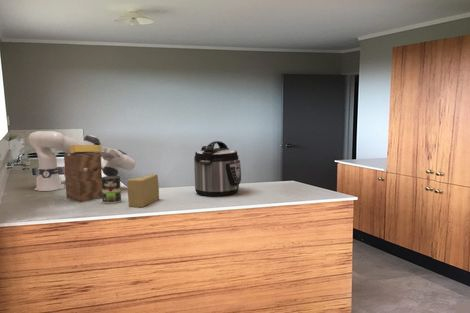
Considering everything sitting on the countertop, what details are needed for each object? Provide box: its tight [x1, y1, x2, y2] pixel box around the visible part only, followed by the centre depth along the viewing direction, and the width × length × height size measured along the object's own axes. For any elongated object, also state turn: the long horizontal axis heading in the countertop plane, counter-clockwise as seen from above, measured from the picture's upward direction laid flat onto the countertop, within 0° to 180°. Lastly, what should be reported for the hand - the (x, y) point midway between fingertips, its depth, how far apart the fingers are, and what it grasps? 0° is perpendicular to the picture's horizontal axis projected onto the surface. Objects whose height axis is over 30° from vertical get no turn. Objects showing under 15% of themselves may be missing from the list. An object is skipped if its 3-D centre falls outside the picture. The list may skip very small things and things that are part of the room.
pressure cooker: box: [193, 140, 242, 197], centre depth 268 cm, size 30×28×32 cm
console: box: [63, 152, 103, 203], centre depth 260 cm, size 14×19×27 cm
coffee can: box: [101, 175, 122, 204], centre depth 249 cm, size 10×10×14 cm
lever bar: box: [70, 144, 103, 153], centre depth 263 cm, size 22×4×4 cm, turn 153°
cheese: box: [127, 173, 160, 208], centre depth 244 cm, size 22×10×15 cm, turn 157°
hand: (94, 146), depth 269 cm, fingers open, 7 cm apart
